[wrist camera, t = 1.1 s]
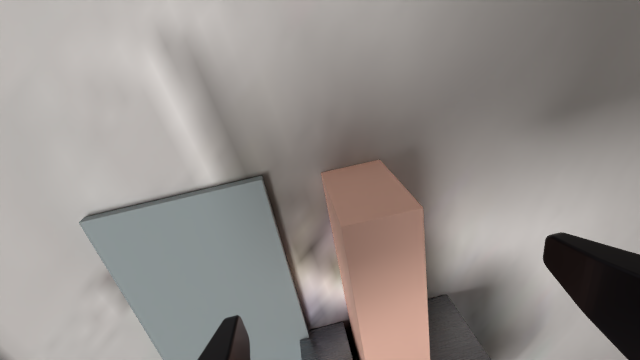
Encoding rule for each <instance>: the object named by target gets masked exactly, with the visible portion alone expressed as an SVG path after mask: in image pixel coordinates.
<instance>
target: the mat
mask: <svg viewBox="0 0 640 360" xmlns="http://www.w3.org/2000/svg"><path fill="white" fill-rule="evenodd" d="M79 224H80V225H81V227H82V229H83V230H84V232H85V233H86V235H87V237H88V238H89V240H90V242H91V243H92V245H93V247H94V248H95V250H96V251H97V253H98V255H99V256H100V258H101V260H102V261H103V263H104V264H105V266H106V268H107V269H108V271H109V273H110V274H111V276H112V277H113V279H114V281H115V282H116V284H117V286H118V287H119V289H120V291H121V292H122V294H123V295H124V297H125V299H126V300H127V302H128V304H129V305H130V307H131V308H132V310H133V312H134V313H135V315H136V317H137V318H138V320H139V321H140V323H141V325H142V326H143V328H144V330H145V331H146V333H147V334H148V336H149V338H150V339H151V341H152V343H153V344H154V346H155V348H156V349H157V351H158V352H159V354H160V356H161V357H162V359H163V360H197V359H198V358H199V356H200V355H201V353H202V352H203V350H204V349H205V347H206V346H207V344H208V343H209V341H210V339H211V338H212V336H213V335H214V333H215V332H216V330H217V329H218V327H219V326H220V324H221V323H222V321H223V320H224V319H225V318H227V317H231V316H235V315H239V316H240V317H241V318H242V321H243V323H244V326H245V328H246V330H247V333H248V336H249V340H250V360H301V349H300V340H301V339H305V338H309V332H308V328H307V325H306V321H305V318H304V315H303V311H302V308H301V305H300V301H299V298H298V294H297V291H296V288H295V284H294V281H293V278H292V274H291V271H290V268H289V264H288V261H287V258H286V254H285V251H284V248H283V244H282V241H281V238H280V234H279V231H278V227H277V224H276V221H275V217H274V214H273V211H272V207H271V204H270V201H269V197H268V194H267V191H266V187H265V184H264V181H263V177H262V176H258V177H254V178H250V179H246V180H241V181H237V182H233V183H229V184H224V185H220V186H216V187H211V188H207V189H203V190H199V191H194V192H190V193H186V194H182V195H177V196H173V197H169V198H165V199H160V200H156V201H152V202H148V203H143V204H139V205H135V206H131V207H126V208H122V209H118V210H114V211H109V212H105V213H101V214H97V215H92V216H88V217H84V218H83V219H82V220H81V221H80V222H79Z"/></svg>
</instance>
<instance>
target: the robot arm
mask: <svg viewBox="0 0 640 360" xmlns="http://www.w3.org/2000/svg"><path fill="white" fill-rule="evenodd" d="M543 261H544V263H545V265H546V267H547V268H548V269H549V271H550V272H551V273H552V274H553V276H554V277H555V278H556V279H557V281H558V282H559V283H560V284H561V286H562V287H563V288H564V289H565V291H566V292H567V293H568V294H569V296H570V297H571V298H572V299H573V301H574V302H575V303H576V304H577V306H578V307H579V308H580V309H581V310H582V311H583V313H584V314H585V315H586V316H587V317H588V318H589V319H590V320H591V321H592V322H593V323H594V324H595V325H596V327H597V328H598V329H599V330H600V331H601V332H602V333H603V334H604V335H605V336H606V337H607V338H608V339H609V340H610V341H611V342H612V343H613V344H614V345H615V346H616V347H617V349H618V350H619V351H620V352H621V353H622V354H623V355H624V356H625V357H626V358H627V359H628V360H640V255H639V254H636V253H632V252H629V251H625V250H622V249H618V248H615V247H611V246H608V245H604V244H601V243H598V242H594V241H591V240H587V239H584V238H580V237H577V236H573V235H570V234H567V233H556V234H552V235H549V236H547V238H546V240H545V246H544V254H543ZM197 360H250V340H249V336H248V333H247V330H246V328H245V326H244V323H243V321H242V318H241V317H240V316H239V315H235V316H231V317H227V318H225V319H224V320H223V321H222V323H221V324H220V326H219V327H218V329H217V330H216V332H215V333H214V335H213V336H212V338H211V339H210V341H209V343H208V344H207V346H206V347H205V349H204V350H203V352H202V353H201V355H200V356H199V358H198V359H197Z"/></svg>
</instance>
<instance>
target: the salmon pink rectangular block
mask: <svg viewBox="0 0 640 360" xmlns="http://www.w3.org/2000/svg"><path fill="white" fill-rule="evenodd" d="M321 176H322V181H323V187H324V192H325V197H326V202H327V207H328V212H329V217H330V222H331V228H332V233H333V238H334V243H335V248H336V253H337V258H338V264H339V269H340V274H341V279H342V284H343V289H344V294H345V299H346V305H347V310H348V315H349V320H350V325H351V330H352V335H353V340H354V344H355V347H356V351H357V354H358V358H359V360H430V345H429V323H428V301H427V279H426V258H425V236H424V214H423V207H422V206H421V205H420V204H419V202H418V201H417V200H416V199H415V198H414V197H413V196H412V195H411V194H410V192H409V191H408V190H407V189H406V188H405V187H404V186H403V185H402V184H401V183H400V181H399V180H398V179H397V178H396V177H395V176H394V175H393V174H392V173H391V171H390V170H389V169H388V168H387V167H386V166H385V165H384V164H383V163H382V161H381V160H375V161H371V162H366V163H362V164H357V165H353V166H348V167H344V168H339V169H335V170H330V171H326V172H322V173H321Z"/></svg>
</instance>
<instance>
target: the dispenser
mask: <svg viewBox="0 0 640 360" xmlns="http://www.w3.org/2000/svg"><path fill="white" fill-rule="evenodd" d="M427 301H428V323H429V345H430V360H491V359H490V357H489V356H488V354H487V353H486V351H485V350H484V349H483V347H482V346H481V344H480V343H479V341H478V340H477V338H476V337H475V335H474V334H473V333H472V331H471V330H470V328H469V327H468V325H467V324H466V322H465V321H464V319H463V318H462V317H461V315H460V314H459V312H458V311H457V309H456V308H455V306H454V305H453V303H452V302H451V300H450V299H449V298H448V296H447V295H444V296H440V297H436V298H432V299H429V300H427ZM308 332H309V338H305V339H301V340H300V349H301V360H359V358H358V354H357V352H354V353H351V351H350V347H349V343H348V339H347V335H346V331H345V328H344V324H343V322H341V323H337V324H333V325H329V326H325V327H321V328H318V329H314V330H310V331H308Z"/></svg>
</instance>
